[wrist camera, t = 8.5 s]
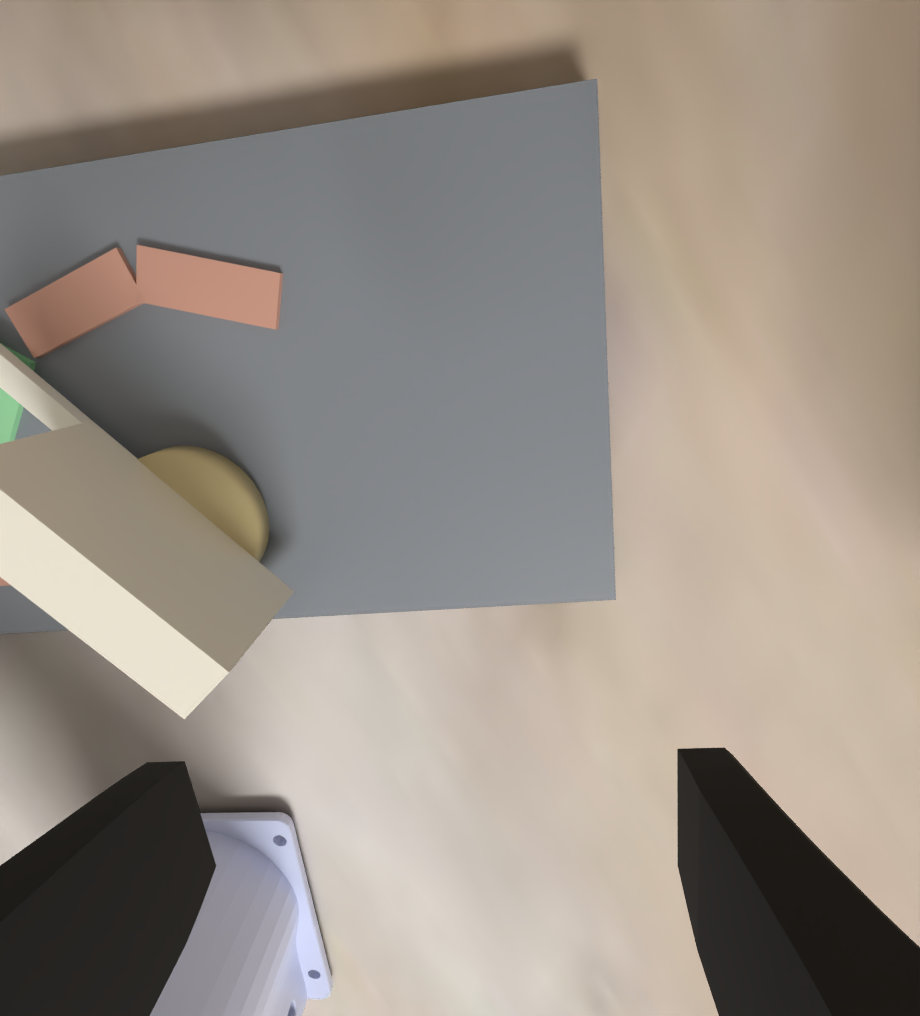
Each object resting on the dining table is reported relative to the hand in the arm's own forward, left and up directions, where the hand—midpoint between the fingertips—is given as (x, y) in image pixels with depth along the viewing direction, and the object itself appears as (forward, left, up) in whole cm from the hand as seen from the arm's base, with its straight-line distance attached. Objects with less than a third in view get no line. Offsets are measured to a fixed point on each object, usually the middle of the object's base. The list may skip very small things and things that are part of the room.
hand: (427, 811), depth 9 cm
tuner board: (+5, +8, -10) cm, 14 cm away
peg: (+4, +9, -9) cm, 14 cm away
